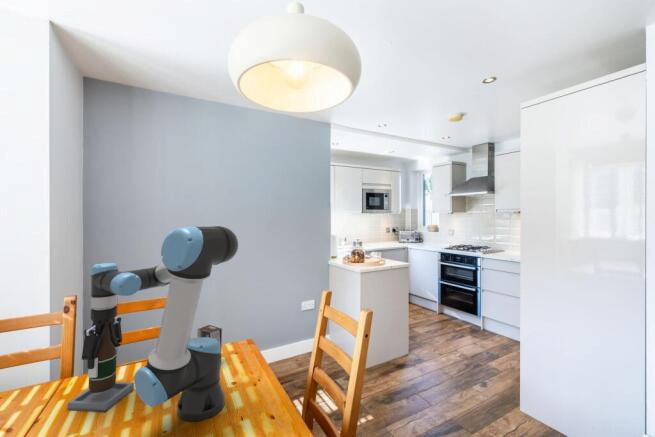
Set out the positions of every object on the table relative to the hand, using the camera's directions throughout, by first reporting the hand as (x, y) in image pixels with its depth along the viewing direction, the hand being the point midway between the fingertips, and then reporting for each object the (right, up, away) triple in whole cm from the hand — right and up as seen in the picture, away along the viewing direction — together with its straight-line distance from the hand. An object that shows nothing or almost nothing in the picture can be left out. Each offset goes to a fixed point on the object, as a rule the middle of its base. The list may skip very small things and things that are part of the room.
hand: (102, 370), depth 107 cm
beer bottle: (0, -6, 0) cm, 6 cm away
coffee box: (+28, -11, +26) cm, 40 cm away
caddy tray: (0, -10, 0) cm, 10 cm away
